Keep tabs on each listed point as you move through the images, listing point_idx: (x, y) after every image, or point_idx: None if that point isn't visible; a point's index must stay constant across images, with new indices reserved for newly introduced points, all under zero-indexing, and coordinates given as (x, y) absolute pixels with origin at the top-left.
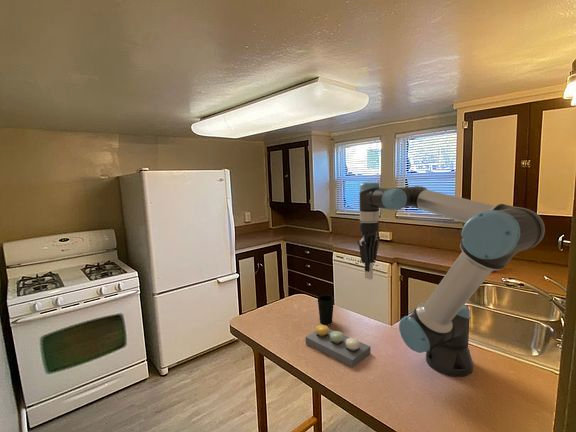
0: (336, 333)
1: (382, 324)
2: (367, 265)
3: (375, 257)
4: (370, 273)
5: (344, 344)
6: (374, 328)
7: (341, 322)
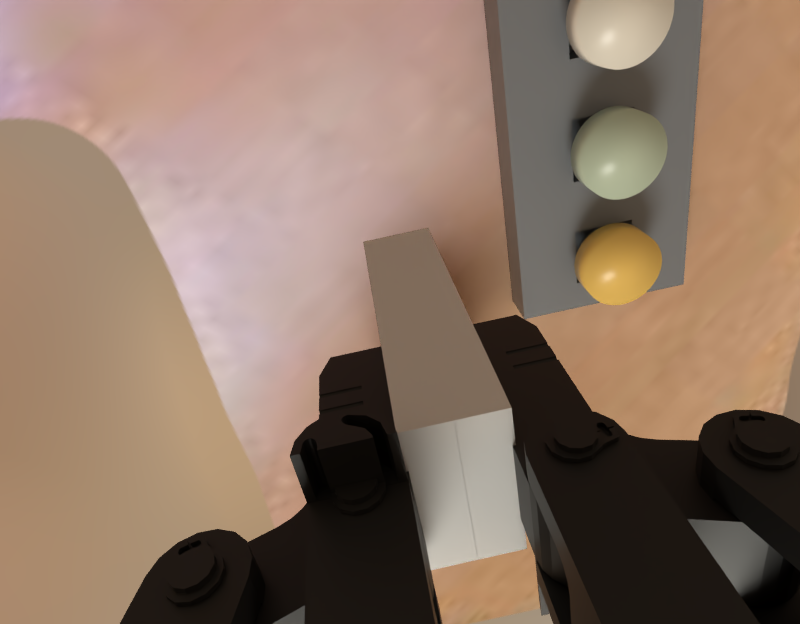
0: (616, 167)
1: (132, 183)
2: (586, 410)
3: (189, 620)
4: (450, 280)
5: (598, 89)
6: (223, 175)
7: (352, 337)
